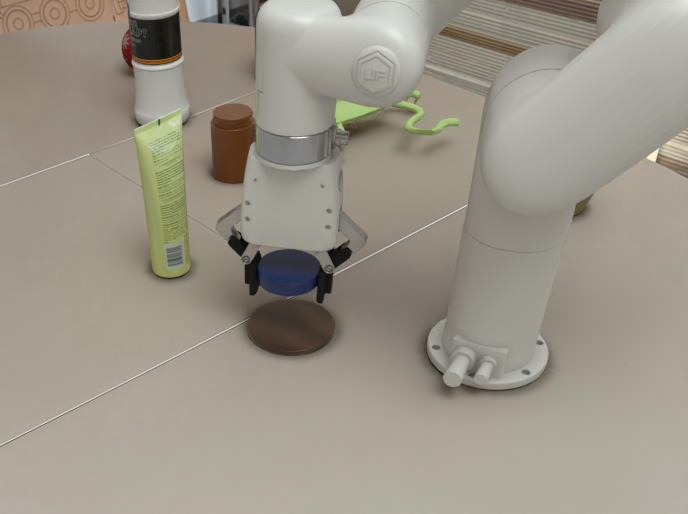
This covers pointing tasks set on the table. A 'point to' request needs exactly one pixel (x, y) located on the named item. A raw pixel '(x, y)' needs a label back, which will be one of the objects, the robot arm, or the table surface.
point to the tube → (164, 193)
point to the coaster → (291, 327)
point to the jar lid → (288, 272)
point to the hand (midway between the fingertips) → (288, 291)
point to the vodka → (157, 59)
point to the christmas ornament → (127, 49)
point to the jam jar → (231, 141)
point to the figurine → (355, 112)
